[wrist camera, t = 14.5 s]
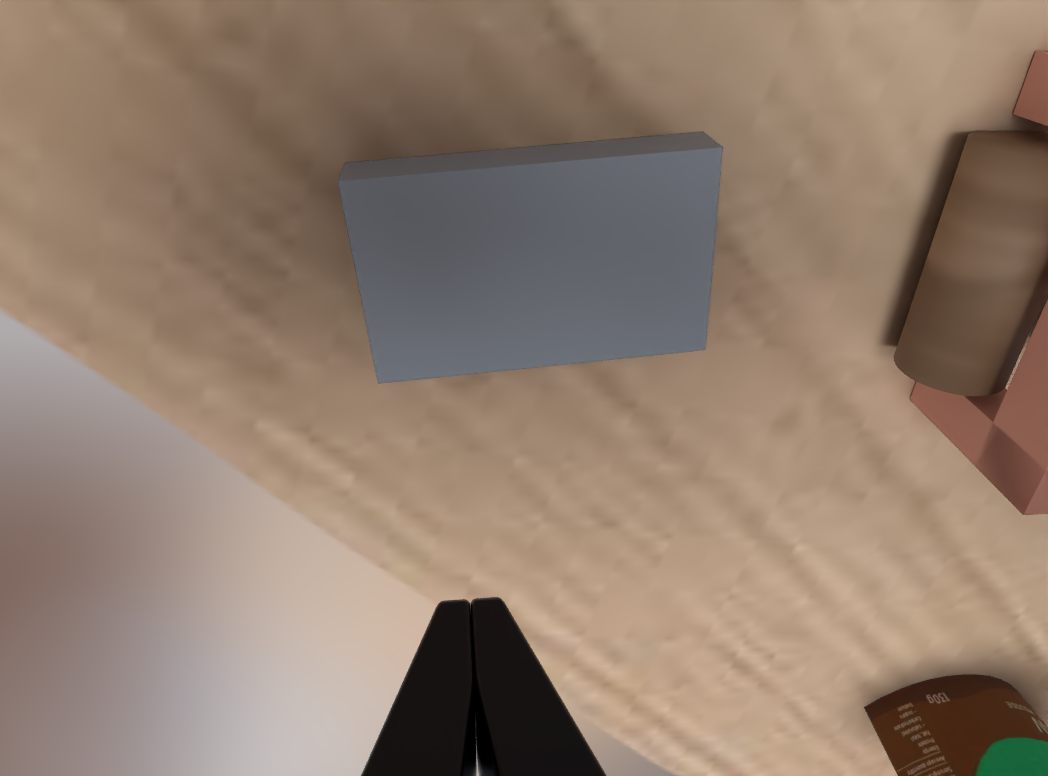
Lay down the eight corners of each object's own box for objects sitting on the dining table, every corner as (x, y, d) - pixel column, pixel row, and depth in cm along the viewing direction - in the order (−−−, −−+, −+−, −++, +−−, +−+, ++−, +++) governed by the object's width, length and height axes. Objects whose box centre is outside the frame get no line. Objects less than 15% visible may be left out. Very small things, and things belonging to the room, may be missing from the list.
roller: (1034, 163, 17) (941, 131, 19) (940, 401, 20) (872, 349, 23) (1139, 156, 17) (1036, 127, 20) (1031, 389, 21) (955, 340, 23)
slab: (697, 127, 19) (722, 147, 17) (684, 317, 22) (705, 349, 20) (346, 157, 18) (337, 181, 17) (382, 347, 21) (377, 383, 20)
